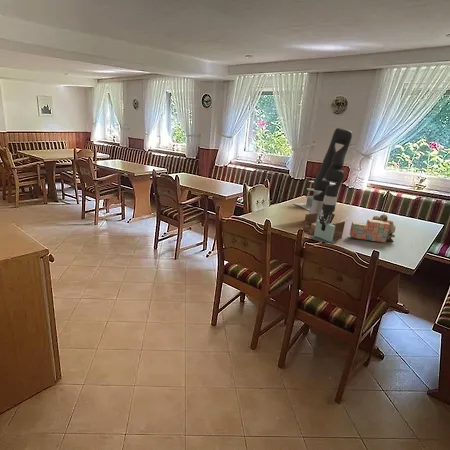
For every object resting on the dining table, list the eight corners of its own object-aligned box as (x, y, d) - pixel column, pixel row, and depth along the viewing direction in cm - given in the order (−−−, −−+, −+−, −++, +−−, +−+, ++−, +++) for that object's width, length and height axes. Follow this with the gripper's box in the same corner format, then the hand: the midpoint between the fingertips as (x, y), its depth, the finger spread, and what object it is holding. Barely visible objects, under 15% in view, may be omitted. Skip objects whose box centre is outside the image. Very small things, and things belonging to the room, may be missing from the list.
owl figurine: (362, 238, 216) (368, 213, 211) (365, 233, 226) (371, 210, 221) (392, 245, 208) (399, 219, 203) (394, 240, 218) (400, 215, 213)
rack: (303, 229, 222) (305, 214, 219) (313, 227, 229) (316, 212, 226) (331, 240, 206) (334, 223, 203) (341, 237, 213) (345, 221, 210)
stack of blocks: (350, 237, 212) (354, 219, 208) (349, 234, 217) (352, 216, 214) (385, 242, 208) (390, 224, 204) (383, 239, 214) (387, 221, 210)
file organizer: (343, 210, 288) (348, 185, 282) (309, 210, 276) (314, 185, 269) (324, 202, 311) (329, 180, 305) (293, 203, 298) (296, 179, 292)
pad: (309, 237, 208) (309, 236, 208) (316, 235, 213) (317, 234, 213) (328, 244, 198) (328, 244, 197) (335, 242, 203) (335, 241, 202)
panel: (313, 235, 208) (316, 220, 205) (316, 234, 210) (319, 219, 207) (329, 241, 200) (333, 226, 197) (332, 241, 201) (335, 225, 198)
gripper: (330, 200, 205) (325, 226, 210) (317, 202, 196) (312, 229, 202) (341, 203, 200) (335, 230, 205) (328, 205, 191) (322, 233, 196)
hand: (324, 230), depth 203 cm, fingers closed on panel, 2 cm apart
